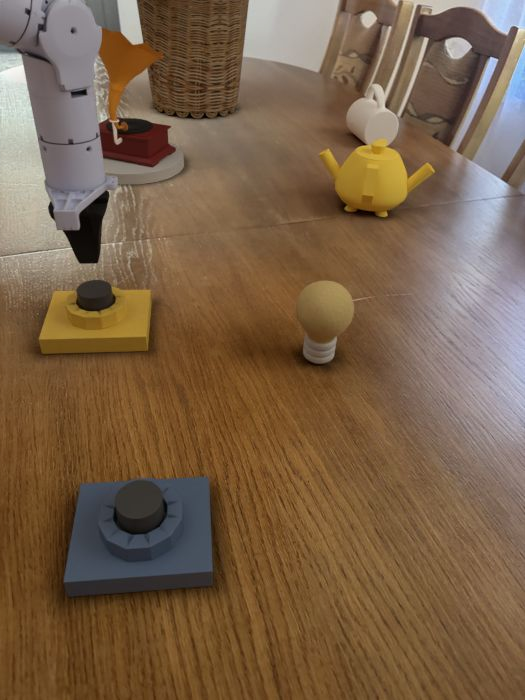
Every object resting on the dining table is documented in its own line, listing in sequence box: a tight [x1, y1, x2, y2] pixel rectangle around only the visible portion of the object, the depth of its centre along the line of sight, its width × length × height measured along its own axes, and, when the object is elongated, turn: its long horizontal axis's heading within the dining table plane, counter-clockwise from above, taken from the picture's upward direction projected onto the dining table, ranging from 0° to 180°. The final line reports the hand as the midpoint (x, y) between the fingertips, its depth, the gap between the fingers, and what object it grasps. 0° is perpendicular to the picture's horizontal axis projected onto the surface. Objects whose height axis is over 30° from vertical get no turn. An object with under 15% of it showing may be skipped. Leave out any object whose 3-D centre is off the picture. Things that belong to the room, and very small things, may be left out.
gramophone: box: [98, 27, 185, 186], centre depth 103 cm, size 20×20×25 cm
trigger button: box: [75, 279, 114, 311], centre depth 66 cm, size 4×4×2 cm
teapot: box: [318, 139, 436, 218], centre depth 97 cm, size 20×18×11 cm
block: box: [62, 476, 214, 598], centre depth 45 cm, size 11×9×4 cm
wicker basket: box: [136, 0, 250, 120], centre depth 133 cm, size 35×35×33 cm
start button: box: [115, 480, 164, 534], centre depth 44 cm, size 4×4×2 cm
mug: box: [345, 83, 400, 147], centre depth 124 cm, size 8×10×12 cm
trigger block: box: [37, 285, 153, 355], centre depth 68 cm, size 12×10×4 cm
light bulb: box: [295, 280, 355, 365], centre depth 63 cm, size 6×6×10 cm
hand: (89, 260), depth 62 cm, fingers closed
